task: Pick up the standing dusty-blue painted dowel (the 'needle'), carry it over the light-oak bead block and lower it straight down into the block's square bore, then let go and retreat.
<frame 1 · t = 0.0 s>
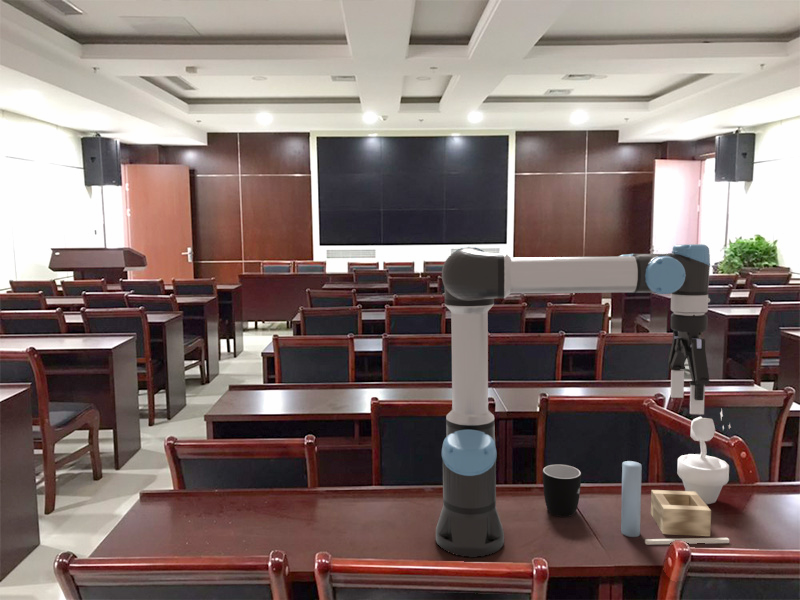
hand: (686, 405, 137), 28 cm above the table, fingers open, 13 cm apart
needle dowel: (630, 532, 136), on the table
mug: (560, 509, 149), on the table
white sculpture: (701, 499, 153), on the table
white thin rod: (686, 542, 131), on the table
bead block: (679, 524, 139), on the table
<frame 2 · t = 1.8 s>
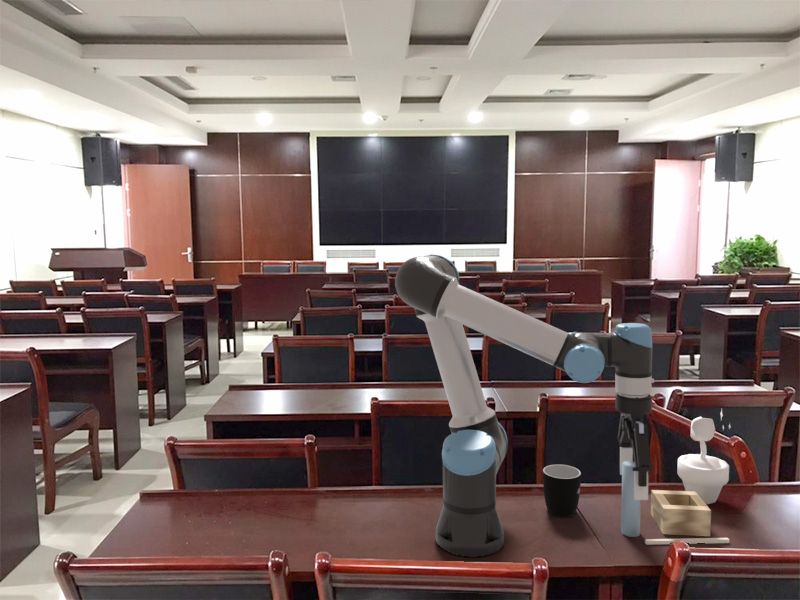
hand: (633, 486, 135), 11 cm above the table, fingers open, 13 cm apart
nothing on the table moved.
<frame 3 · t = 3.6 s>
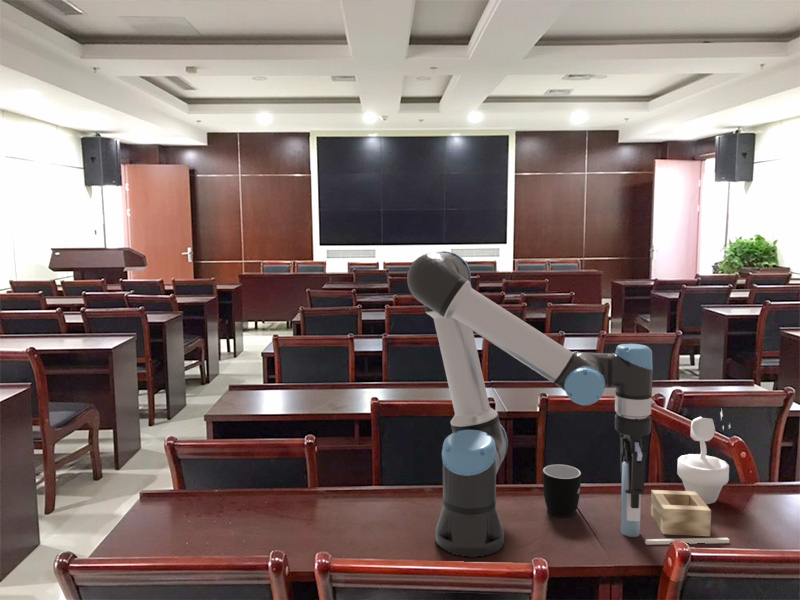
hand: (630, 515, 136), 4 cm above the table, fingers closed on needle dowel, 4 cm apart
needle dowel: (630, 532, 136), on the table, touching gripper
everything else where it was.
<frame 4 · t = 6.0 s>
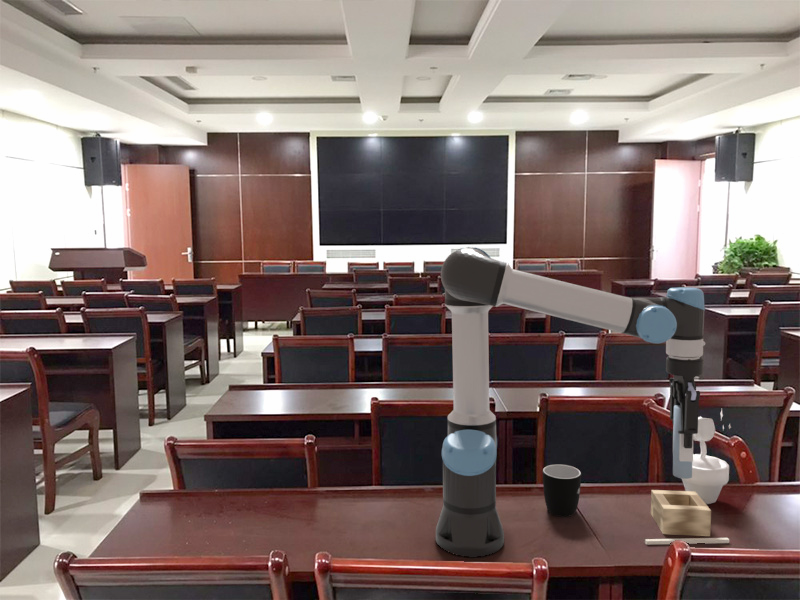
hand: (682, 456, 138), 16 cm above the table, fingers closed on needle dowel, 4 cm apart
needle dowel: (682, 475, 138), point 12 cm above the table, touching gripper
everything else where it was.
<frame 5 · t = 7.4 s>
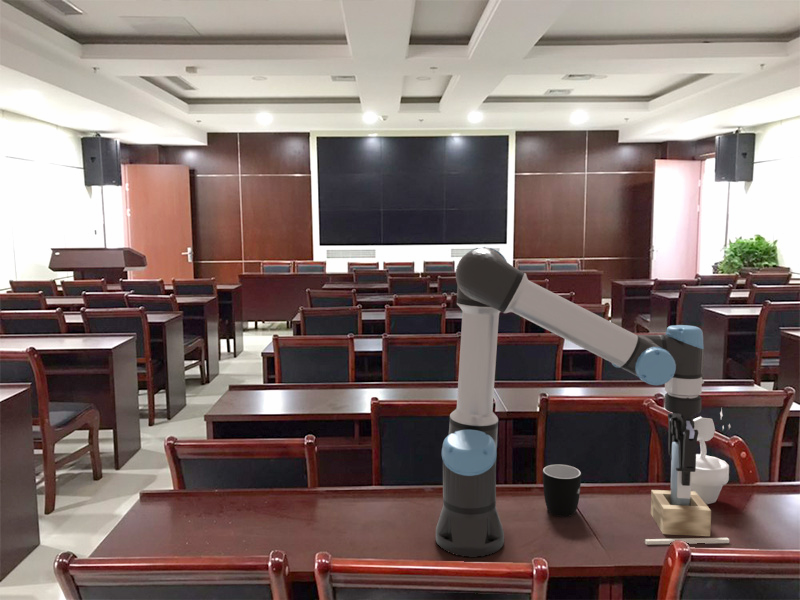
hand: (680, 493, 138), 8 cm above the table, fingers closed on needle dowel, 4 cm apart
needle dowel: (679, 511, 139), point 3 cm above the table, touching gripper
everything else where it was.
when the fingers open (7 cm above the table, at t = 8.3 s): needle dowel drops 3 cm, resting in bead block.
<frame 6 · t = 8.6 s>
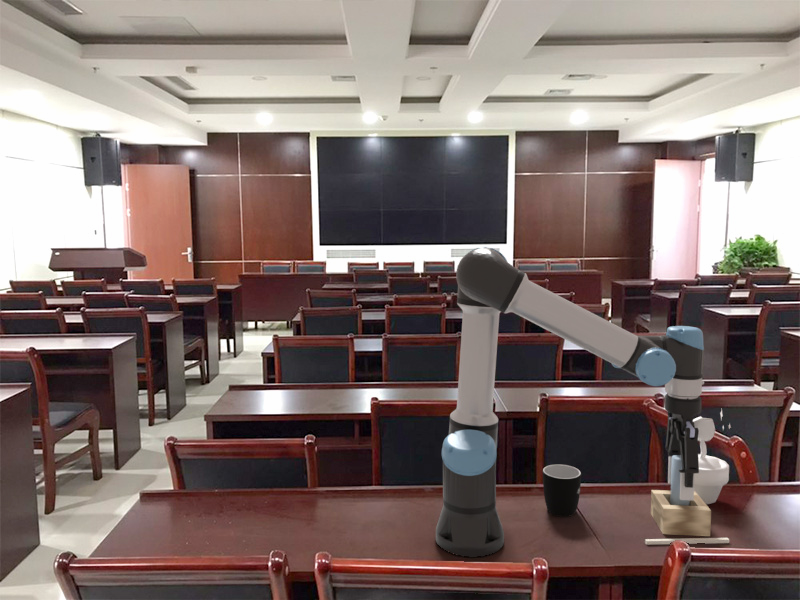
hand: (680, 491, 138), 8 cm above the table, fingers open, 8 cm apart
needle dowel: (679, 524, 139), resting in bead block
everything else where it was.
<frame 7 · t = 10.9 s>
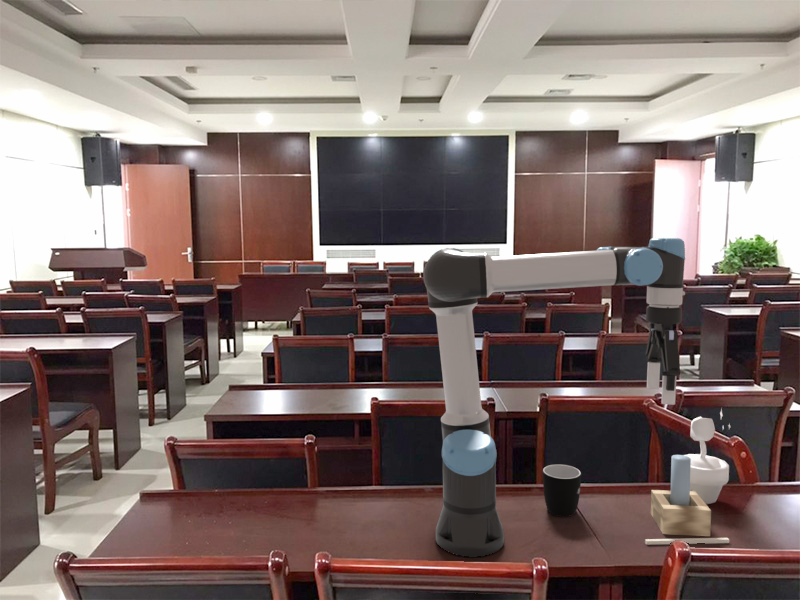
hand: (660, 396, 140), 29 cm above the table, fingers open, 13 cm apart
nothing on the table moved.
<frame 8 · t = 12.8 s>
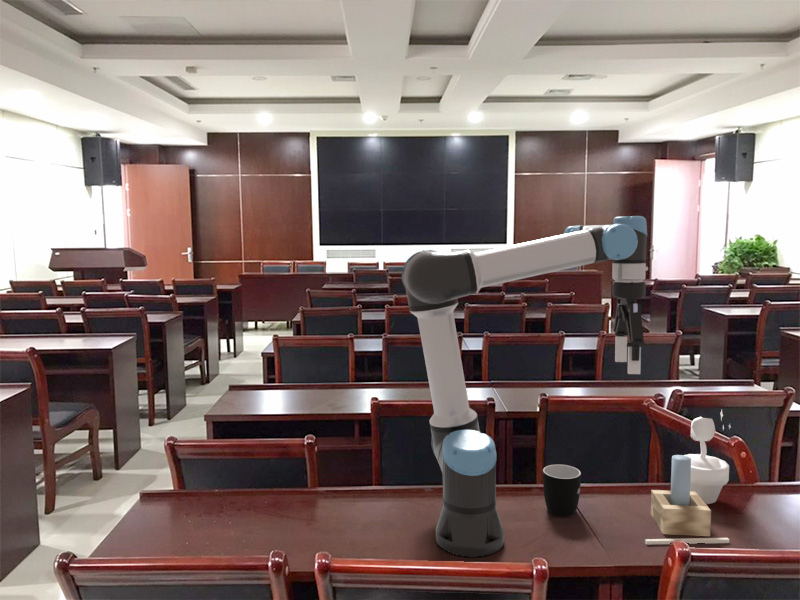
hand: (627, 367, 147), 35 cm above the table, fingers open, 13 cm apart
nothing on the table moved.
at the end: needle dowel 0.0 cm off-centre on the bead block, point 0.0 cm above the bead block's base; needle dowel tilted 0°; the gripper is holding nothing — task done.
